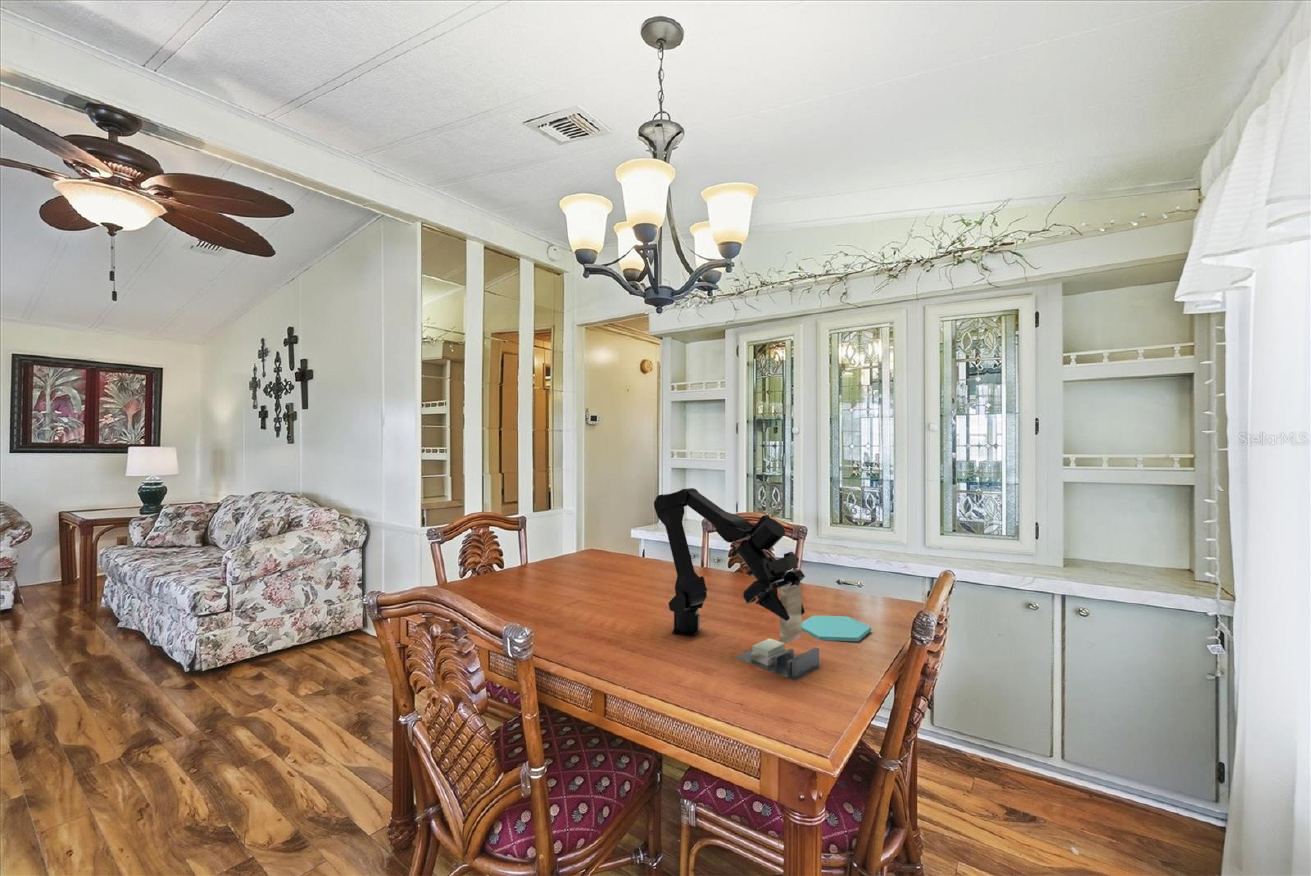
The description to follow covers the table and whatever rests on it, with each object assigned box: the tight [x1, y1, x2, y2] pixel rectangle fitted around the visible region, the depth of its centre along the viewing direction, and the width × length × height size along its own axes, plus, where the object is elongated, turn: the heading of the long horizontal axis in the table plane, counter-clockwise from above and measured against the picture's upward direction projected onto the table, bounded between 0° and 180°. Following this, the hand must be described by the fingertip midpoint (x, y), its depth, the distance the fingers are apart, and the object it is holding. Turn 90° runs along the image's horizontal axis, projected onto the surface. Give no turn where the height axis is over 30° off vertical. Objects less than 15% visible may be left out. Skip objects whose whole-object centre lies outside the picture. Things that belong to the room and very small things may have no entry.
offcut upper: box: [752, 637, 786, 657], centre depth 131 cm, size 4×7×2 cm, turn 133°
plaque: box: [801, 615, 872, 642], centre depth 153 cm, size 18×2×20 cm
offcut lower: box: [751, 649, 787, 666], centre depth 131 cm, size 5×8×2 cm, turn 133°
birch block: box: [779, 585, 803, 644], centre depth 126 cm, size 2×6×12 cm, turn 133°
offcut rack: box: [734, 647, 824, 681], centre depth 129 cm, size 17×12×5 cm
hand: (796, 616), depth 125 cm, fingers closed on birch block, 6 cm apart
